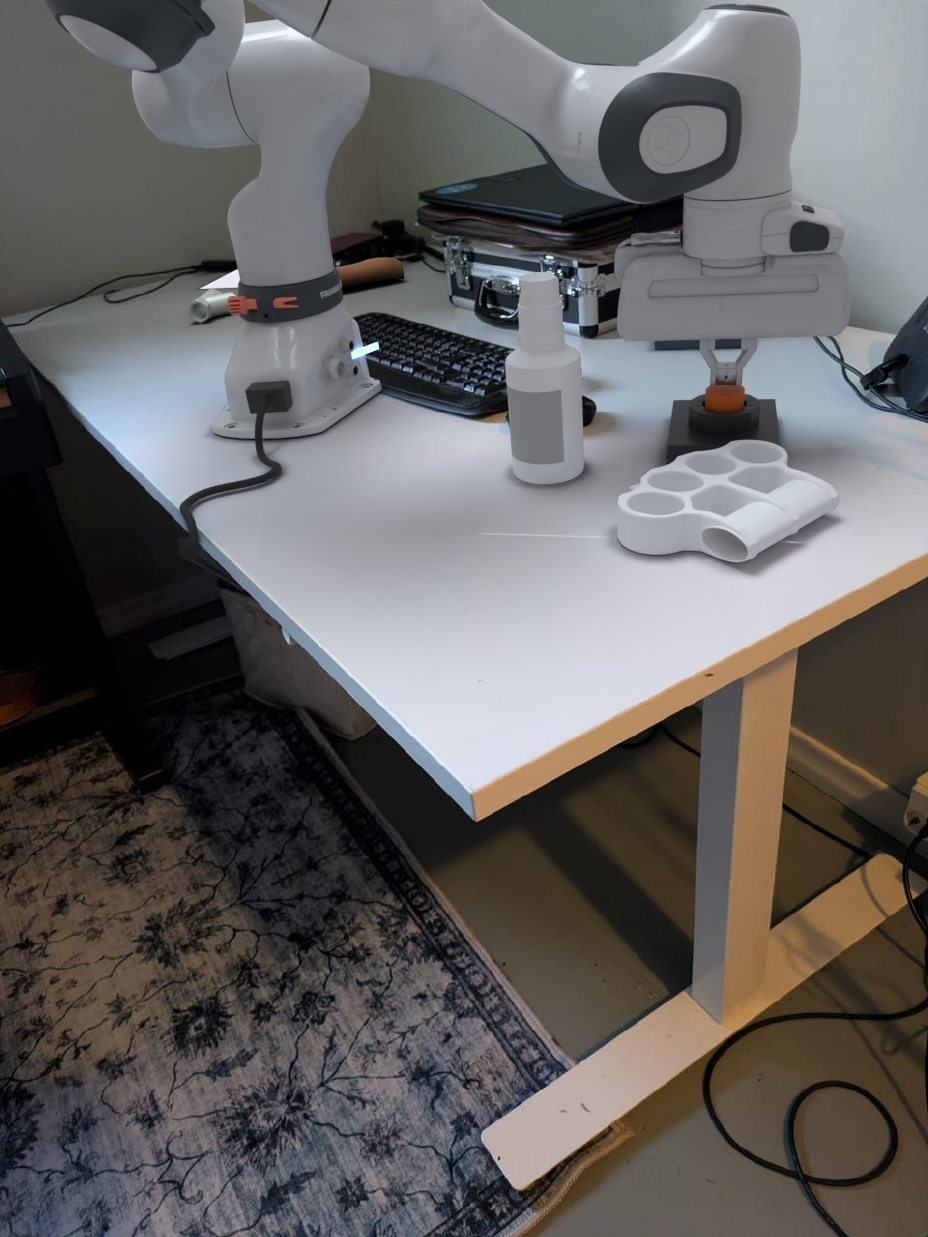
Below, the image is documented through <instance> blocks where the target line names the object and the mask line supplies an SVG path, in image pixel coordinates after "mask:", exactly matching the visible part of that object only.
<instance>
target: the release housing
mask: <svg viewBox="0 0 928 1237" xmlns="http://www.w3.org/2000/svg"><path fill="white" fill-rule="evenodd" d="M777 410H778V409H777V402H776V399H775V398H757V397H755V396H754V395H751V394H749V393H745V396H744V407H743V408H742V409H739V410H734V411H713V410H708V409H706V408H705V393H704V394H699V395H697V396H695V397H694V398H692V399H673V402H672V408H671V415H670V422H669V429H668V436H667V443H666V462H665V465H668V464H670V463H672V462H673V461H674V460H675V459H676V458H677V457H678V456H681V455H685V454H688V453H692V452H695V451H707V450H713V449H717V448H721V447H723V446H725V445H727V444H728V443H729V442H731V441H737V440H760V441H766V442H770V443H774V444H776V445H779V446H780V447H781V441H780V440H781V438H780V430H779V421H778V413H777V412H778V411H777Z"/></svg>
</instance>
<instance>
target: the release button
mask: <svg viewBox="0 0 928 1237" xmlns="http://www.w3.org/2000/svg"><path fill="white" fill-rule="evenodd" d="M704 394H705V408H706V409H708V410H713V411H734V410H739V409H742V408H743V407H744V396H745V394H746V388H745V386H743V385H715V386H711V385H710V384H709V385H708V386H707V387H706V388H705V391H704Z"/></svg>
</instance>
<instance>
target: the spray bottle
mask: <svg viewBox="0 0 928 1237" xmlns="http://www.w3.org/2000/svg"><path fill="white" fill-rule="evenodd" d="M559 284H560V281H559V278H558V277H557V276H556V275H555V274H554V273H553V272H552V271H537V272H530V273H526V274H522V275H520V276H519V277H518V287H519V298H518V303H517V316H518V331H517V332H518V345H519V346H518V347H517V348H515V349H514V350H513V351H511V352H510V353H509V354H508V355H507V356H506V358H505V363H504V367H505V382H506V383H505V384H506V392H507V393H506V394H507V406H508V408H507V409H508V419H509V422H508V423H509V433H510V434H509V436H510V445H511V446H510V447H511V459H512V461H511V462H512V472H513V473H514V475H515V476H516V478H517V479H518V480H520V481H522V482H524V483H529V484H532V485H557V484H560V483H566V482H569V481H571V480H574V479H575V478H577V477H579V476H580V475H581V474H582V472H583V471H584V468H585V454H584V420H583V419H584V418H583V417H584V416H583V415H584V414H583V384H582V357H581V353H580V351H578V350H577V348H575V347H574V346H572V345H570V344H568V343H566V342H565V325H564V319H563V318H564V317H563V316H564V315H563V314H564V313H563V300H562V299H561V293H560V285H559Z"/></svg>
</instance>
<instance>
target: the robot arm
mask: <svg viewBox="0 0 928 1237" xmlns="http://www.w3.org/2000/svg"><path fill="white" fill-rule="evenodd" d="M247 1H248V2H250V3H252V4H254V5H255V6H257V7H258V8H259V9H261V10H262V11H264V12H265V13H267V14H268V15H270V16H272V17H273V18H274V19H270V20H262V21H254V22H247V23H246V9H245V4H244V0H44V3H45V4H46V6H47V8H48V9H49V11H50V13H51V15H52V16H53V18H54V20H55V21H56V24H58V25H59V26H60V27H61V28H62V29H63V30H64V31H65V32H66V33H68V34H69V35H70V36H71V37H73V39H75V41H76V42H78V43H79V44H80V45H81V46H82V47H83V48H84V49H86V50H87V51H89V52H90V53H91V54H92V55H94V56H96V57H97V58H99V59H101V60H102V61H104V62H107V63H108V64H111V65H114V66H116V67H119V68H122V69H126V70H132V71H131V91H132V96H133V101H134V103H135V107H136V109H137V112H138V114H139V116H140V117H141V120H142V122H144V124H145V126H146V127H147V128H148V130H149V131H150V132H151V133H152V134H153V135H154V136H155V137H156V138H157V139H158V140H159V141H160V142H162V143H165V144H168V145H169V144H170V145H175V146H181V147H187V148H196V149H203V150H204V149H205V150H209V149H220V148H230V147H243V146H251V145H259V148H260V154H261V156H260V157H261V160H260V170H259V173H258V175H257V177H255V178H253V179H252V180H251V181H250V182H248V183H247V184H246V185H245V186H243V187H242V188H241V189H240V190H239V191H238V192H237V193H236V194H235V196H234V197H233V198H232V200H231V201H230V204H229V207H228V211H227V217H226V218H227V219H226V223H227V226H228V230H229V235H230V240H231V244H232V245H231V246H232V249H233V253H234V257H235V258H234V259H235V262H236V267H237V269H238V272H239V276H240V281H239V283H238V288H237V295H236V296H237V297H236V296H229V297H228V299H227V301H228V302H227V305H229V306H227V309H229V310H228V311H229V312H231V313H229V314H230V315H232V316H236V315H238V316H239V317H240V319H241V322H240V326H239V330H238V334H237V336H236V339H235V342H234V345H233V347H232V350H231V354H230V357H229V360H228V363H227V367H226V369H225V372H224V388H225V393H226V394H225V395H226V399H227V404H226V405H225V406H224V408H223V409H222V410H221V412H220V413H219V415H218V416H217V417H216V419H215V420H214V422H213V423H212V425H211V426H212V432H213V433H214V434H215V435H218V436H222V437H226V438H235V439H254V444H255V452H256V455H257V458H258V459H259V461H260V462H261V463H262V464H264V465H265V466H267V467H268V468H270V469H269V470H268V471H267V472H265V473H263V474H260V475H257V476H253V477H249V478H244V479H240V480H235V481H231V482H230V481H229V482H225V483H221V484H216V485H211V486H208V487H206V488H203V489H201V490H198V491H196V492H193V493H192V494H191V495H189V496H188V497H187V498H185V499H184V500H183V501H182V502H181V503H180V505H179V508H178V509H179V512H180V515H181V516H182V517H183V519H184V521H185V523H186V526H187V531H188V539H189V540H188V542H189V547H190V548H192V549H193V548H197V547H198V546H199V545H200V540H199V532H198V531H199V530H198V526H197V522H196V519H195V517H194V516H195V515H194V514H193V513H192V512H191V510H190V508H191V507H192V506H193V505H195V504H196V503H197V502H199V501H201V500H202V499H203V500H204V498H207V497H210V496H214V495H217V494H222V493H225V492H231V491H235V490H240V489H245V488H250V487H255V486H257V485H260V484H263V483H266V482H268V481H270V480H273V479H274V478H276V477H277V476H278V475H279V474H280V473H281V471H282V464H280V463H279V462H277V461H275V460H273V459H270V458H269V457H268V456H267V455H266V453H265V448H264V441H263V440H264V439H265V440H266V439H267V440H268V439H286V438H296V437H303V436H309V435H314V434H319V433H321V432H324V431H325V430H327V429H329V428H330V427H331V426H333V425H335V423H337V422H338V421H340V420H341V419H343V418H344V417H345V416H348V414H350V413H351V412H353V411H354V410H356V409H357V408H359V407H360V406H361V405H363V404H364V403H365V402H367V401H368V400H370V399H371V398H372V397H374V396H376V395H377V394H379V392H381V391H382V390H383V388H382V384H381V381H380V379H377V380H375V379H376V378H375V379H374V377H371V376H370V371H369V366H368V362H367V358H366V355H367V354H369V353H372V352H374V351H377V350H379V349H380V347H379V346H380V345H379V342H378V341H376V342H373V343H370V344H368V345H366V346H364V345H363V341H362V335H361V330H360V327H359V324H358V322H357V321H356V320H355V319H354V318H353V317H352V316H351V315H350V314H349V313H348V311H347V310H346V309H345V307H344V305H343V302H342V301H343V299H344V294H343V287H342V283H341V279H340V277H339V272H338V269H337V268H336V266H335V264H334V262H333V260H334V259H333V251H332V245H331V237H330V230H329V220H328V210H327V191H328V190H327V189H328V183H329V178H330V173H331V170H332V166H333V163H334V160H335V157H336V155H337V152H338V151H339V148H340V147H341V145H342V143H343V142H344V140H345V139H346V137H347V136H348V134H349V133H350V132H351V131H352V130H353V129H354V128H355V127H356V125H357V124H358V123H360V122H359V121H360V120H361V118H362V116H363V115H364V113H365V110H366V108H367V106H368V102H369V98H370V92H371V73H370V68H372V69H375V70H377V71H381V72H384V73H388V74H391V75H395V76H398V77H402V78H408V79H409V78H410V79H417V80H424V81H428V82H431V83H435V84H438V85H442V86H445V87H447V88H448V89H449V88H450V89H451V90H454V91H455V92H457V93H458V94H460V95H462V96H463V97H465V98H466V99H469V100H470V101H472V102H474V103H475V104H477V105H479V106H480V107H481V108H483V109H485V110H487V111H489V112H490V113H492V114H494V115H495V116H497V117H499V118H501V119H502V120H504V121H505V122H507V123H509V124H511V126H513V127H515V128H517V129H518V130H519V131H521V132H522V133H524V134H525V135H526V136H527V137H528V139H530V140H531V141H532V143H533V144H534V146H535V147H536V148H537V150H538V151H539V153H540V154H541V155H542V157H543V159H544V160H545V162H546V163H547V165H548V166H549V168H550V169H551V170H552V172H554V174H555V175H556V176H557V177H558V178H559V179H560V180H561V181H562V182H564V183H565V184H566V185H568V186H570V187H572V188H575V189H577V190H580V191H585V192H592V193H599V194H602V195H606V196H609V197H611V198H615V199H619V200H621V201H625V202H628V203H633V204H638V205H639V204H640V205H647V204H654V203H659V202H663V201H665V200H669V199H673V198H675V197H679V196H681V195H683V206H682V207H683V208H682V209H683V210H682V229H681V230H670V231H661V232H655V233H647V232H637V233H633V234H631V235H630V238H626V239H623V241H621V242H620V243H619V244H618V245H617V247H616V249H615V251H614V255H613V274H614V278H615V280H616V282H617V283H618V284H619V285H620V291H619V296H618V305H617V314H616V315H617V317H616V332H617V334H618V335H619V336H620V337H621V338H622V339H623V341H625V342H655V341H667V340H700V349H698V350H699V353H700V355H701V356H702V358H703V360H704V362H705V364H706V366H707V367H708V369H710V374H709V386H710V385H711V386H715V385H742V384H743V374H744V373H743V372H744V368H746V366H747V365H748V363H749V362H750V360H751V359H752V357H753V356H754V354H755V353H756V352H757V350H758V339H772V338H773V339H774V338H775V339H778V338H810V337H811V338H812V337H816V338H817V337H838V336H840V334H842V332H843V331H845V329H847V327H848V326H849V324H850V317H851V306H852V305H851V304H852V285H851V271H850V267H849V264H848V261H847V258H846V255H845V254H844V252H843V251H842V248H841V247H842V246H843V242H844V237H845V226H844V225H845V224H844V222H843V221H842V218H840V216H839V215H838V214H837V213H835V212H833V211H832V210H830V209H826V208H822V207H819V206H814V205H811V204H807V203H803V202H798V201H795V200H792V194H793V175H792V171H791V152H792V147H793V144H794V140H795V138H796V135H797V133H798V126H799V118H800V117H799V116H800V104H801V103H800V102H801V88H802V87H801V86H802V53H801V41H800V33H799V29H798V26H797V23H796V21H795V19H794V18H793V17H792V16H791V15H790V13H788V12H786V11H784V10H783V9H780V8H778V7H773V6H769V5H761V4H751V3H750V4H749V3H747V4H736V3H722V4H721V3H720V4H715V5H710V6H708V7H706V8H704V9H702V10H701V11H700V12H699V14H698V16H697V17H696V19H695V20H694V21H693V22H692V23H691V24H690V25H689V26H688V27H687V28H686V29H685V30H684V31H683V32H682V33H680V35H678V36H677V37H676V38H675V39H673V40H672V41H671V42H669V43H668V44H667V45H665V46H664V47H662V48H660V50H658V51H657V52H655V53H653V54H652V55H650V56H648V57H646V58H645V59H643V60H641V61H639V62H637V63H638V65H635V66H630V65H629V66H628V65H617V64H611V63H605V62H591V61H590V62H589V61H588V62H578V61H573V60H570V59H567V58H564V57H562V56H560V55H558V54H557V53H556V52H554V51H552V50H551V49H549V48H548V47H547V46H545V45H544V44H542V43H540V42H539V41H538V40H536V39H535V38H533V37H532V36H530V35H529V34H527V33H526V32H525V31H522V30H521V29H520V28H518V27H517V26H515V25H514V24H512V23H510V21H507V20H506V19H505V18H503V17H502V16H500V15H499V14H497V12H496V11H494V10H492V9H491V8H490V7H489V6H488V5H487V3H485V2H484V1H483V0H247ZM629 244H630V245H629ZM628 245H629V246H628ZM715 339H741V348H740V350H742V351H741V352H740V353H739V355H738V357H737V358H736V360H735V361H718V358H717V357H716V356H715V353H714V351H715V349H716V348H715ZM742 386H743V385H742Z"/></svg>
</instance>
